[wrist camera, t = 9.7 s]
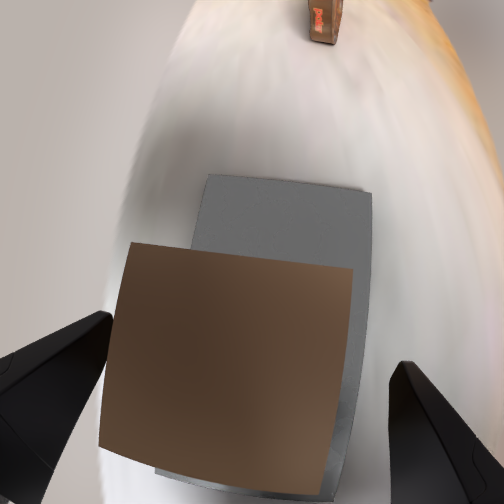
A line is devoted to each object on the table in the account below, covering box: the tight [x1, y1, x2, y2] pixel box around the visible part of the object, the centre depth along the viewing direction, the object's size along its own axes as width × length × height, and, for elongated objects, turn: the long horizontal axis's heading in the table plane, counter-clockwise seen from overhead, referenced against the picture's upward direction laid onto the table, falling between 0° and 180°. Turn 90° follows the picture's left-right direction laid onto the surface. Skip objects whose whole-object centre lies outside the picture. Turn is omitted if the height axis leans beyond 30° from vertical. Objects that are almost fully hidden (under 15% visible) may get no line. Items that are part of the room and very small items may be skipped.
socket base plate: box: [155, 174, 372, 502], centre depth 15 cm, size 20×11×5 cm, turn 171°
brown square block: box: [99, 242, 353, 495], centre depth 10 cm, size 4×4×12 cm
